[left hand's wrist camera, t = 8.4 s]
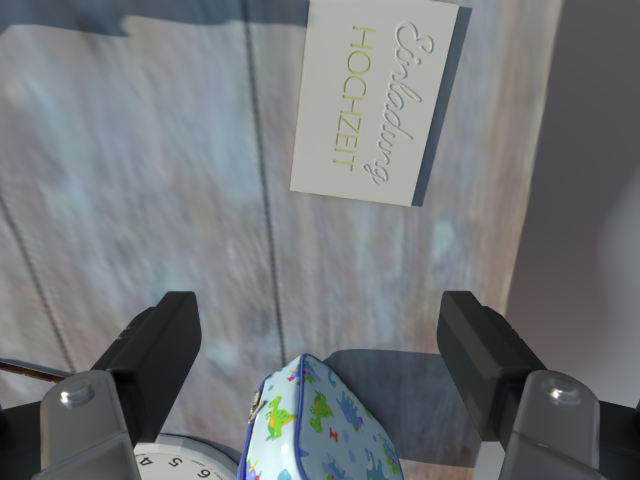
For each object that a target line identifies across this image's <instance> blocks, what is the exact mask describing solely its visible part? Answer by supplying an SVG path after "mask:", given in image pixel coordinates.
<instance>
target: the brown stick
mask: <svg viewBox="0 0 640 480" xmlns="http://www.w3.org/2000/svg"><path fill="white" fill-rule="evenodd" d="M0 370H4V371H8V372H12V373H16V374H24V375H25V376H29V377H32V378H36V379H40V380H45V381H49V382H51V381H53V382H55V383H59V382H61V381H62V380H64V379H66V378H64V377H60V376H55V375H51V374H47V373H43V372H39V371H35V370H31V369H27V368H23V367H19V366H15V365H11V364H7V363H2V362H0Z"/></svg>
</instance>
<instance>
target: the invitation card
mask: <svg viewBox="0 0 640 480" xmlns="http://www.w3.org/2000/svg"><path fill="white" fill-rule="evenodd" d="M458 9H459V5H456V4H450V3H444V2H438V1H432V0H310V5H309V14H308V24H307V33H306V42H305V52H304V61H303V71H302V80H301V90H300V99H299V109H298V118H297V128H296V137H295V147H294V156H293V165H292V175H291V184H290V190H291V191H298V192H306V193H314V194H321V195H329V196H336V197H344V198H351V199H359V200H366V201H374V202H381V203H389V204H396V205H404V206H411V203H412V199H413V195H414V191H415V187H416V183H417V179H418V174H419V170H420V166H421V162H422V158H423V154H424V150H425V145H426V141H427V137H428V133H429V129H430V125H431V121H432V116H433V112H434V108H435V104H436V100H437V96H438V92H439V87H440V83H441V79H442V75H443V71H444V67H445V63H446V58H447V54H448V50H449V46H450V42H451V38H452V34H453V29H454V25H455V21H456V17H457V13H458Z"/></svg>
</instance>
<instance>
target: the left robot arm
mask: <svg viewBox="0 0 640 480" xmlns="http://www.w3.org/2000/svg"><path fill="white" fill-rule="evenodd" d="M201 337H202V335H201V326H200V320H199V313H198V306H197V300H196V295H195V293H194V292H192V291H169V292H167V293H166V294H165V296H164V297H163V298H162V299H161V301H160V302H159V303H158V304H157V306H156V307H149V308H148V309H146V310H145V311H143V312H142V313H140V314H139V315H137V316H136V317H135V318H134V319H133V320H132V321H131V322H130V324H129V325H128V326H127V327H126V330H124V331H123V332H122V333H121V334H120V335H119V336H118V339H116V340H115V341H114V342H113V343H112V345H111V346H110V347H109V348H108V349H107V351H106V352H105V353H104V354H103V355H102V356H101V358H100V359H99V360H98V361H97V362H96V363H95V365H94V366H93V367H92V368H91V369H90V370H89V371H84V372H80V373H77V374H75V375H72V376H70V377H68V378H66V379H64V380H62V381H61V382H59V383H58V384H56V385H55V386H53V387H52V388H51V389H50V390H49V391H48V392H47V393H46V394H45V396H44V397H43V399H42V401H38V402H34V403H30V404H25V405H21V406H17V407H12V408H8V409H2V407H1V405H0V480H142V479H141V475H140V472H139V468H138V465H137V461H136V457H135V454H134V449H135V447H136V445H137V443H155V441H156V439H157V437H158V435H159V433H160V431H161V429H162V427H163V425H164V423H165V421H166V418H167V416H168V414H169V412H170V410H171V408H172V406H173V404H174V402H175V400H176V398H177V396H178V394H179V392H180V389H181V387H182V385H183V383H184V381H185V379H186V377H187V375H188V373H189V371H190V369H191V367H192V365H193V363H194V360H195V358H196V356H197V354H198V352H199V349H200V346H201ZM437 344H438V348H439V351H440V353H441V355H442V357H443V359H444V362H445V364H446V366H447V368H448V370H449V372H450V374H451V376H452V378H453V380H454V383H455V385H456V387H457V389H458V391H459V393H460V395H461V397H462V399H463V401H464V404H465V406H466V408H467V410H468V412H469V414H470V416H471V418H472V420H473V422H474V424H475V427H476V429H477V431H478V433H479V435H480V437H481V439H482V441H500V443H501V445H502V447H503V449H504V451H505V453H506V454H505V458H504V461H503V465H502V468H501V472H500V475H499V479H498V480H640V400H639V403H638V405H637V407H636V409H635V408H630V407H626V406H622V405H617V404H613V403H609V402H604V401H600V400H598V399H597V397H596V396H595V394H594V393H593V392H592V391H591V390H590V389H589V388H588V387H587V386H585V385H584V384H582V383H581V382H579V381H578V380H576V379H574V378H572V377H570V376H568V375H565V374H563V373H560V372H556V371H551V370H548V369H547V368H546V367H545V366H544V365H543V363H542V362H541V361H540V360H539V359H538V358H537V356H536V355H535V354H534V353H533V352H532V350H531V349H530V348H529V347H528V346H527V345H526V343H525V342H524V341H523V340H522V339H521V338H519V335H518V334H517V333H516V332H515V330H514V329H512V328H511V326H510V324H509V323H508V322H507V321H506V320H505V319H504V317H503V316H502V315H500V314H499V313H497V312H496V311H494V310H493V309H491V308H489V307H488V306H482V305H481V304H480V303H479V302H478V300H477V299H476V298H475V296H474V295H473V294H472V293H471V292H470V291H445V292H444V293H443V295H442V300H441V307H440V314H439V320H438V327H437Z"/></svg>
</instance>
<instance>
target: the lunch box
mask: <svg viewBox="0 0 640 480" xmlns="http://www.w3.org/2000/svg"><path fill="white" fill-rule="evenodd" d="M250 413H251V415H250V416H249V418H248V420H249V422H248V423H249V424H248V429H247V434H246V440H245V445H244V450H243V453H242V457H241V460H240V464H239V467H238V473H237V480H404V477H403V473H402V469H401V465H400V462H399V459H398V456H397V454H396V451H395V449H394V446H393V444H392V442H391V440H390V438H389V437H388V435H387V433H386V431H385V429H384V428H383V426H382V425H381V424H380V423H379V422H378V421H377V420H376V419H375V418H374V417H373V416H372V415H371V414H370V413H369V411H368V410H367V409H366V408H365V407H364V406H363V405H362V404H361V403H360V401H359V400H358V399H357V398H356V396H355V395H354V394H353V393H352V392H351V391H350V390H349V389H348V388H347V387H346V385H345V384H344V383H343V382H342V381H341V380H340V379H339V377H338V376H337V375H336V374H335V373H334V372H333V371H332V370H331V369H330V368H329V367H328V366H327V365H325V364H324V363H323V362H322V361H320V360H319V359H317V358H316V357H314V356H312V355H310V354H302V355H300V356H298V357H297V358H296V359H295V360H293V361H292V362H291V363H289V364H288V365H286V366H285V367H284V368H283V369H281V370H279V371H277V372H275V373H274V374H273V375H269V376H268V377H267V378H266V379H265V380H264V381H263V382H262V383H261V385H260V386H259V389H258V391H256V392H254V396H253V400H252V407H251V412H250Z"/></svg>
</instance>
